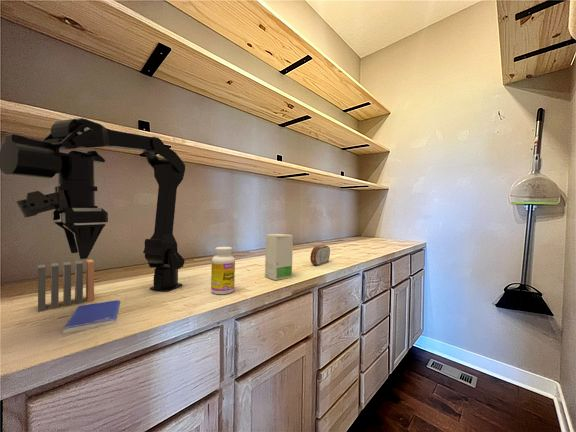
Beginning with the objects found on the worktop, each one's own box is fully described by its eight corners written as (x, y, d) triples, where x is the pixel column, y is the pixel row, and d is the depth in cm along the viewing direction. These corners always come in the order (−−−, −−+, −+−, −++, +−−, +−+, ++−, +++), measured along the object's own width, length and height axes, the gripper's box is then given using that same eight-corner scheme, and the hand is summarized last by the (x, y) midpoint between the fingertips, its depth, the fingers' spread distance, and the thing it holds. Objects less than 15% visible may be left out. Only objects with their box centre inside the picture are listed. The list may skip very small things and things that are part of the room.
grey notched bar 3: (69, 300, 62) (69, 261, 62) (71, 305, 59) (71, 264, 59) (63, 301, 61) (63, 262, 61) (64, 306, 58) (64, 265, 58)
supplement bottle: (222, 296, 66) (223, 250, 66) (206, 292, 69) (206, 248, 69) (239, 290, 72) (239, 247, 72) (223, 286, 75) (223, 245, 75)
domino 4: (91, 296, 65) (91, 259, 65) (94, 300, 62) (94, 262, 62) (85, 297, 64) (86, 260, 64) (88, 301, 61) (88, 262, 61)
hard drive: (116, 318, 50) (120, 299, 60) (63, 327, 45) (77, 305, 56) (116, 326, 50) (120, 305, 60) (62, 336, 45) (77, 312, 56)
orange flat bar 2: (80, 298, 63) (81, 260, 63) (82, 302, 60) (82, 263, 60) (74, 299, 62) (75, 261, 62) (76, 304, 59) (76, 263, 59)
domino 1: (45, 304, 59) (45, 264, 58) (45, 310, 56) (45, 267, 55) (38, 306, 58) (38, 264, 58) (37, 311, 55) (38, 267, 55)
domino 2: (57, 302, 60) (57, 262, 60) (58, 307, 57) (58, 265, 57) (51, 303, 59) (51, 263, 59) (51, 309, 56) (51, 266, 56)
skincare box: (275, 281, 82) (275, 235, 82) (263, 277, 87) (264, 234, 87) (293, 277, 88) (293, 234, 87) (281, 273, 92) (282, 233, 92)
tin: (325, 261, 118) (325, 243, 118) (330, 261, 117) (331, 244, 116) (309, 266, 106) (309, 247, 106) (315, 267, 104) (316, 247, 104)
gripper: (16, 180, 50) (18, 255, 50) (21, 172, 38) (24, 271, 38) (85, 184, 58) (87, 248, 59) (107, 179, 46) (109, 259, 47)
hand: (78, 255), depth 51 cm, fingers open, 9 cm apart
